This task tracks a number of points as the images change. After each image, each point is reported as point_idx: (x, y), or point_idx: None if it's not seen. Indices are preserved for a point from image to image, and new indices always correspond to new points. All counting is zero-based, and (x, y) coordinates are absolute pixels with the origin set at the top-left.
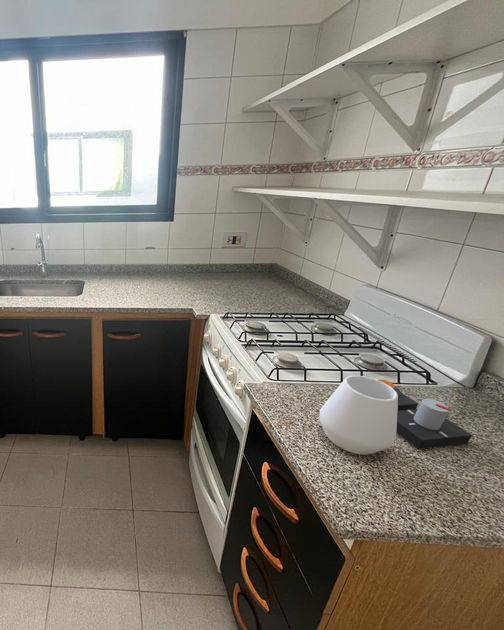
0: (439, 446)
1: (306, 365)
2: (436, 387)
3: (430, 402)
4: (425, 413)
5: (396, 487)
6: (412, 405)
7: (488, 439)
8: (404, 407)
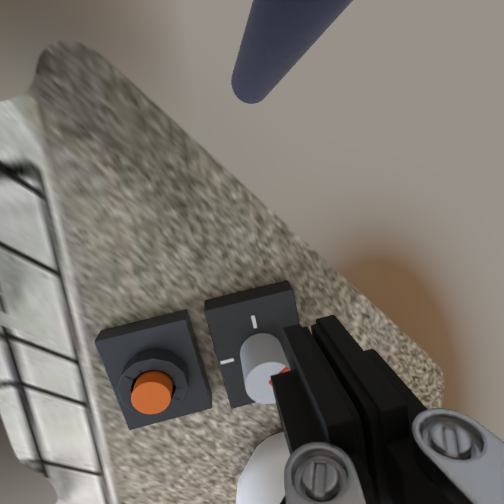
0: None
1: (17, 453)
2: (58, 181)
3: (260, 388)
4: None
5: None
6: (189, 330)
7: (271, 226)
8: (195, 345)
